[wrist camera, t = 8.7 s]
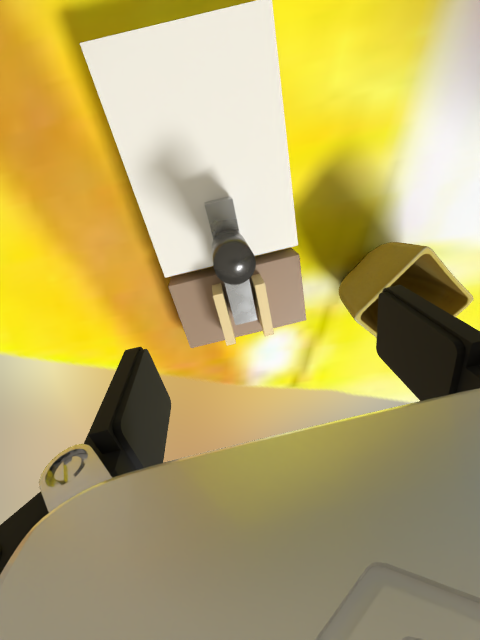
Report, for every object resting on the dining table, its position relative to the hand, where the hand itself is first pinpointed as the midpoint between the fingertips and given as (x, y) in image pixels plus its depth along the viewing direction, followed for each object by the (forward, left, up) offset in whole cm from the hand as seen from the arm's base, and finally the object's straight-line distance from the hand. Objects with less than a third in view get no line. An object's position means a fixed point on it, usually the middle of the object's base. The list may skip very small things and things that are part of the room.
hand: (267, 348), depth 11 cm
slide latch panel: (0, -3, -22) cm, 22 cm away
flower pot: (-16, +9, -22) cm, 29 cm away
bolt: (0, +2, -19) cm, 19 cm away
